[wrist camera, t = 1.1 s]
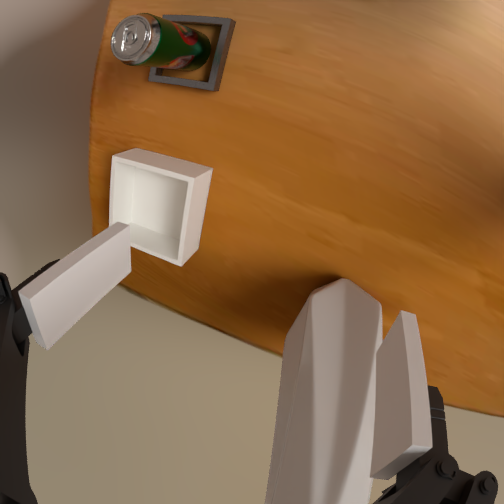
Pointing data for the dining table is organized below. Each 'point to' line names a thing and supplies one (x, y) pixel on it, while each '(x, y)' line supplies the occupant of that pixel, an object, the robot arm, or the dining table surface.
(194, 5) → the dining table surface
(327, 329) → the vase
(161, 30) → the soda can
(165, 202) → the bin
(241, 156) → the dining table surface
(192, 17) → the socket ring
